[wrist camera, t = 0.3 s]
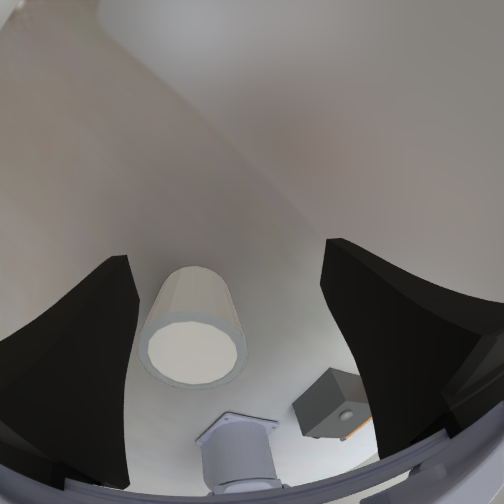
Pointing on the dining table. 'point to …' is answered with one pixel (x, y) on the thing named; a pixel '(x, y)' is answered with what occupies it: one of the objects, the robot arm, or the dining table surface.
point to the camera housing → (332, 405)
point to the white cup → (193, 332)
